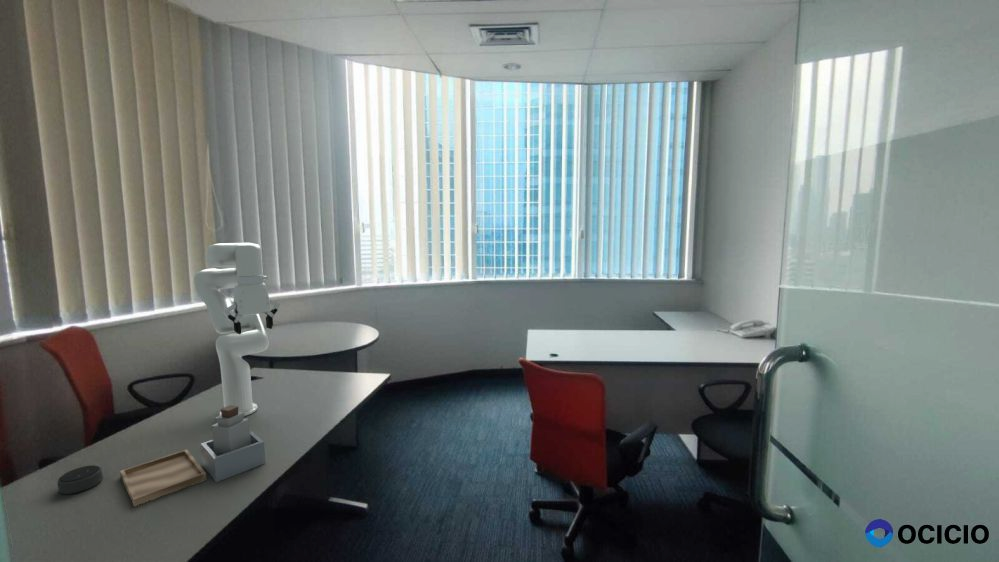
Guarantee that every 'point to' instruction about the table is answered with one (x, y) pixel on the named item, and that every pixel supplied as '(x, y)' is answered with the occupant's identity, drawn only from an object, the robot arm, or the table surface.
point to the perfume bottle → (230, 431)
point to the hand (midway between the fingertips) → (254, 330)
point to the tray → (161, 476)
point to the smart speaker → (79, 479)
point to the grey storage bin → (233, 458)
